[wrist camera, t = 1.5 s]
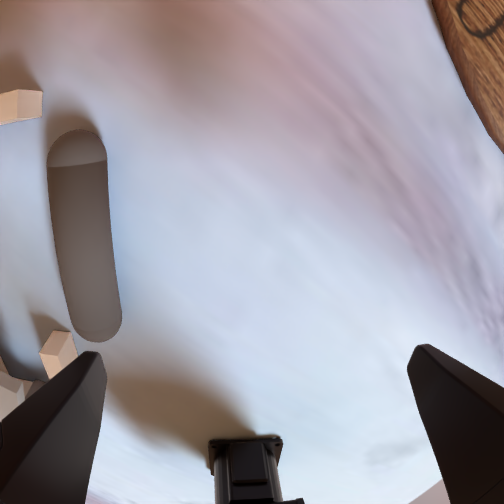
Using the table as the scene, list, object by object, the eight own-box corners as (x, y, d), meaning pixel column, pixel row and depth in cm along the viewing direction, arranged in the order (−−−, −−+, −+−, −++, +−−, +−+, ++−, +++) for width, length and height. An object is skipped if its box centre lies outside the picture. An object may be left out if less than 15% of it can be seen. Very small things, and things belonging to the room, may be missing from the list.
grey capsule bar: (130, 323, 19) (119, 355, 16) (86, 320, 19) (69, 350, 16) (115, 126, 15) (92, 128, 12) (63, 131, 14) (33, 135, 12)
